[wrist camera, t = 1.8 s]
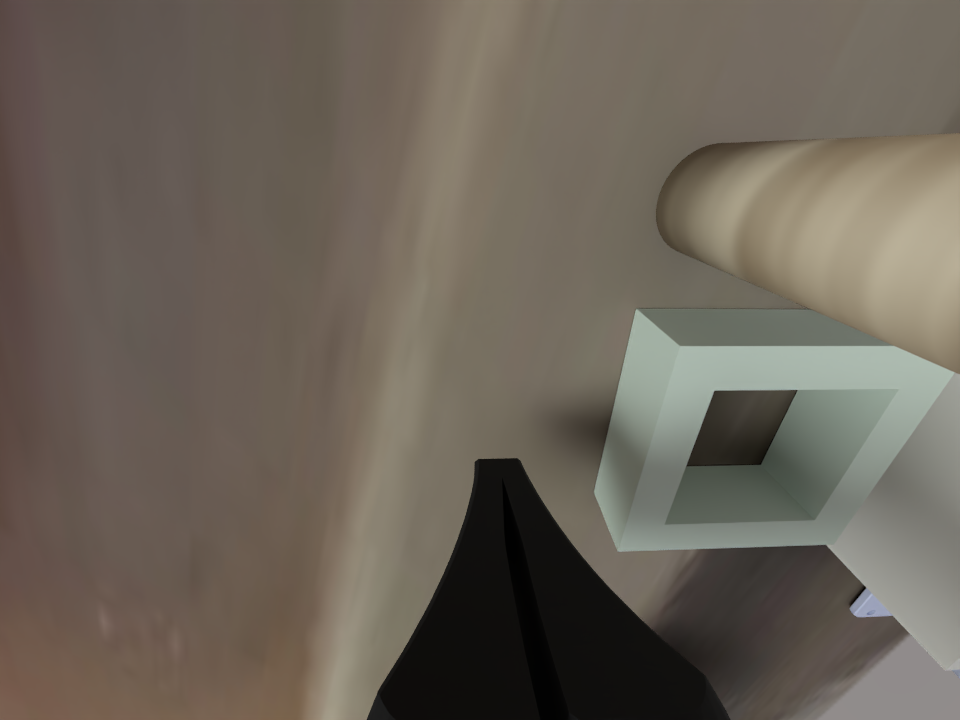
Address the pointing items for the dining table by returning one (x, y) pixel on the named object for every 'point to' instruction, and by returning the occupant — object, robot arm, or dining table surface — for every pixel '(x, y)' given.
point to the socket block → (795, 448)
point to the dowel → (833, 229)
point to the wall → (916, 533)
